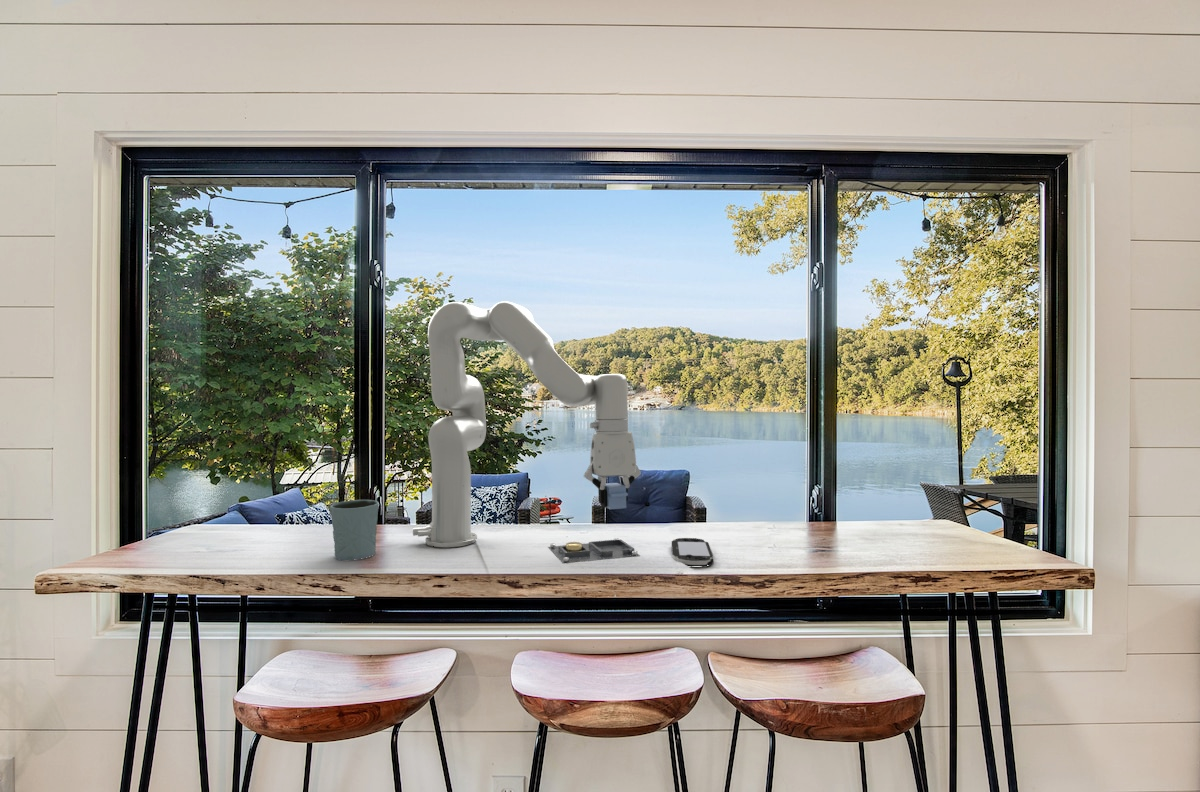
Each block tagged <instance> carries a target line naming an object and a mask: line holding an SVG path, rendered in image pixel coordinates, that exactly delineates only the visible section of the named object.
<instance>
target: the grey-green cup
mask: <svg viewBox="0 0 1200 792" xmlns="http://www.w3.org/2000/svg"><path fill="white" fill-rule="evenodd" d="M379 504H380V503H379V501H377V500H373V499H351V500H343V501H340V502H339V501H338V502H336V503H333V504H331V505H330V506H329V507H330V508H329V509H330V513H331V514H330V516H331V525H332V529H333V530H332V535H333V536H332V537H333V541H334V544H333V545H334V547H333V548H334V558H335V559H336V560H337V559H340V560H339V561H342V560H354V559H361V558H366V557H369V556H372V555H374V556H375V554H376V547H377V546H376V543H377V524H378V514H379V513H378V512H379ZM372 557H373V556H372ZM369 558H370V557H369ZM366 559H367V558H366ZM354 561H355V560H354Z"/></svg>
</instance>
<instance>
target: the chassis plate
mask: <svg viewBox="0 0 1200 792" xmlns="http://www.w3.org/2000/svg"><path fill="white" fill-rule="evenodd" d="M547 548H548V549H549V550H550V551H551V552H552V553H553V555H554V556H556V558H557V559H558V560H559V561H560V563H562V564H569V563H570V564H571V563H572V564H573V563H582V562H583V563H585V562H592V561H602V560H603V561H604V560H613V559H614V560H615V559H624V558H633V557H634V558H635V557H641V555H640V554H638V550H635V547H633V546H631V545H630V544H629V543H627V542H625V541H624V540H622V539H619V538H617V537H615V538H613V539H608V540H607V539H605V540H597V541H595V540H594V541H589V542H588V543H582V551H572V552H567V551H566V544H565V545H556V543H554V542H553V543H550V544H549V546H547Z"/></svg>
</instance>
